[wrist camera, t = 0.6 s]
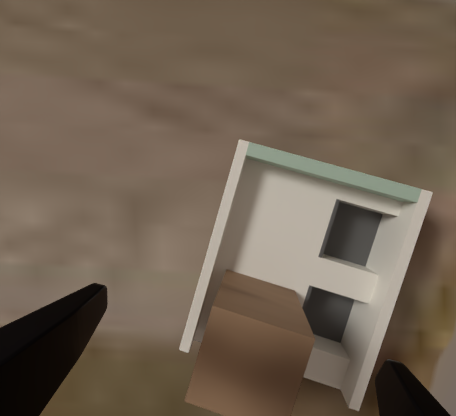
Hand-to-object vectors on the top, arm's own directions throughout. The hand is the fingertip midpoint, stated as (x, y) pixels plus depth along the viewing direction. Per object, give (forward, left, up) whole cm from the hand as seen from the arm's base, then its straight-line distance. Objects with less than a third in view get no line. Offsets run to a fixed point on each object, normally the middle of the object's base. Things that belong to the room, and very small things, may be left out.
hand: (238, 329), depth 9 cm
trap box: (+2, -4, -18) cm, 18 cm away
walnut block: (-3, -5, -15) cm, 16 cm away
